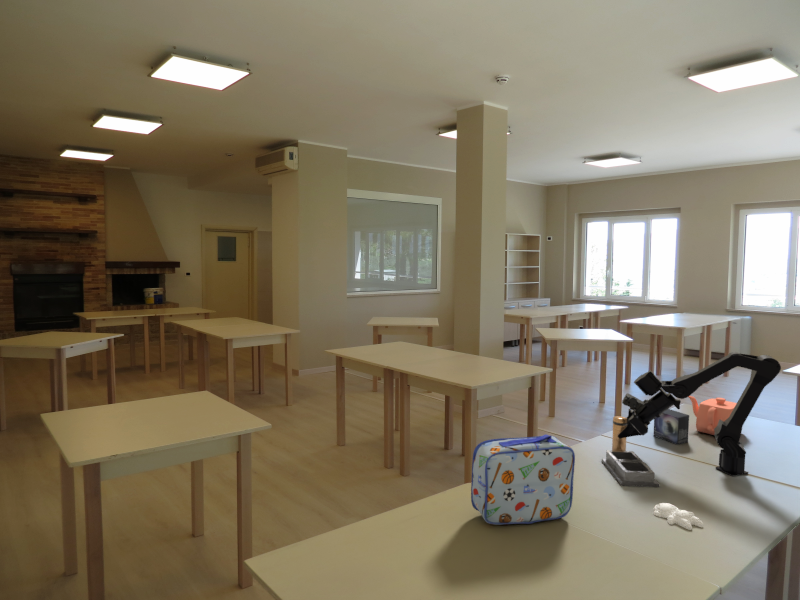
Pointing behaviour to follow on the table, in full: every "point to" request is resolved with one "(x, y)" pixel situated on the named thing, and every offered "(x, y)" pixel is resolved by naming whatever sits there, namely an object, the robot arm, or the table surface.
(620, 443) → the copper tube
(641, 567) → the table surface
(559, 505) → the lunch box
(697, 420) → the teapot
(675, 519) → the astronaut figurine
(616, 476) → the grey two-compartment tray
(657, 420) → the small box
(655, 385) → the robot arm
